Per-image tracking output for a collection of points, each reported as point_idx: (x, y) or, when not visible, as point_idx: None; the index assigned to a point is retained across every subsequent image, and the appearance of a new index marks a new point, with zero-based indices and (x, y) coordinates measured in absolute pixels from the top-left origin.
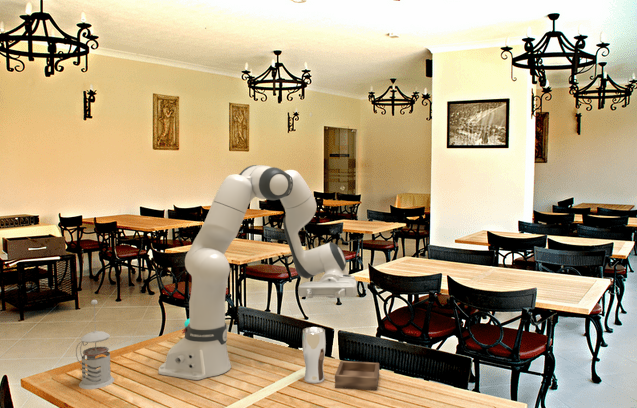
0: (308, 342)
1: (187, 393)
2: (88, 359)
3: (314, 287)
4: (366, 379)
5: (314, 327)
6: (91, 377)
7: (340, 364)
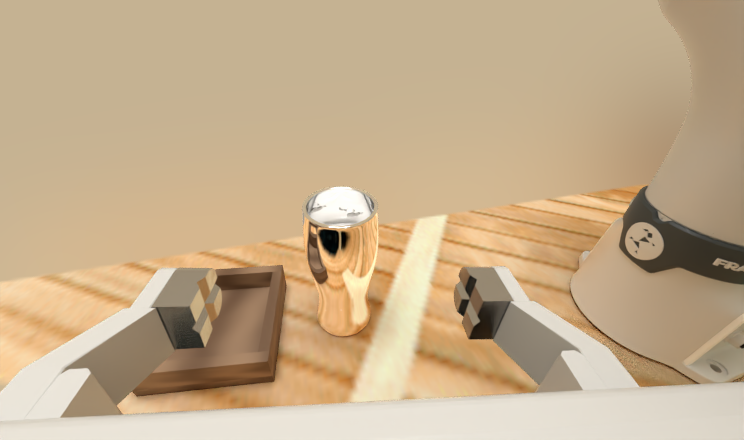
0: (349, 208)
1: (540, 221)
2: None
3: (550, 393)
4: None
5: (346, 225)
6: None
7: (268, 331)
